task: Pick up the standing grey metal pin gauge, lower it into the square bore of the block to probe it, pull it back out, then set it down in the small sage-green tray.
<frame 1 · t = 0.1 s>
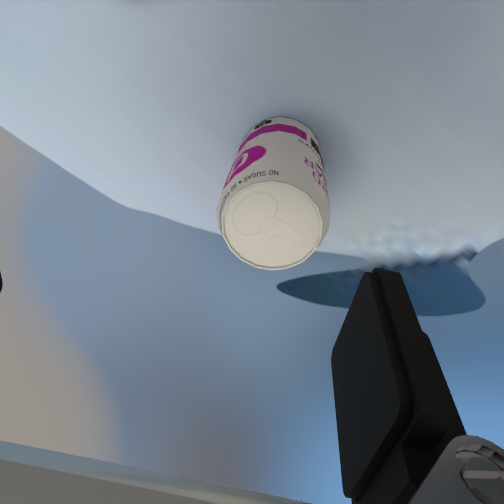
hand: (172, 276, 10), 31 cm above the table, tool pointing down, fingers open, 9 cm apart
supplement can: (280, 156, 40), on the table
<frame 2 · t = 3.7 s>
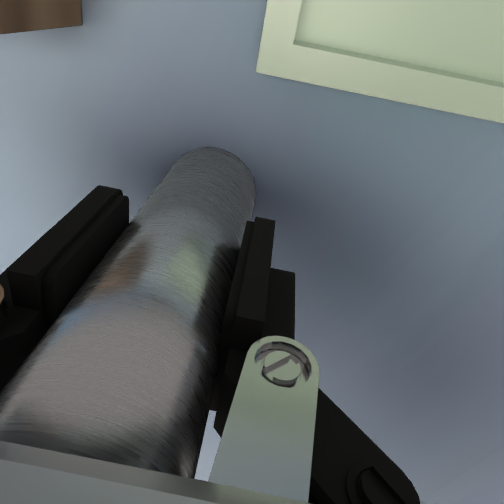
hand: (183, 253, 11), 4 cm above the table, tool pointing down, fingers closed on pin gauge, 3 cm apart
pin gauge: (211, 190, 14), on the table, touching gripper
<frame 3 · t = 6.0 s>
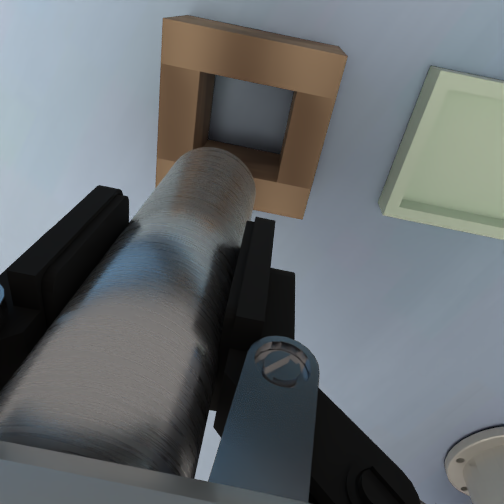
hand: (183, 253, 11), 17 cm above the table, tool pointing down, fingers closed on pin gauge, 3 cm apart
tray: (484, 157, 26), on the table
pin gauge: (211, 190, 14), point 13 cm above the table, touching gripper
bore block: (250, 109, 25), on the table
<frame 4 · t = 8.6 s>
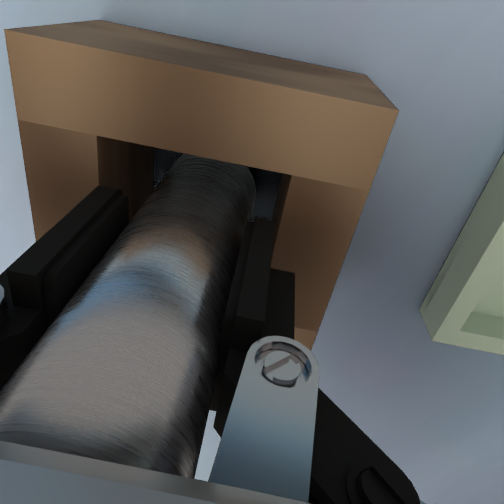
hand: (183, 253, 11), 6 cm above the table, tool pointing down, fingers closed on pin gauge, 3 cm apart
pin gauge: (211, 190, 14), point 1 cm above the table, touching gripper
bore block: (216, 174, 15), on the table
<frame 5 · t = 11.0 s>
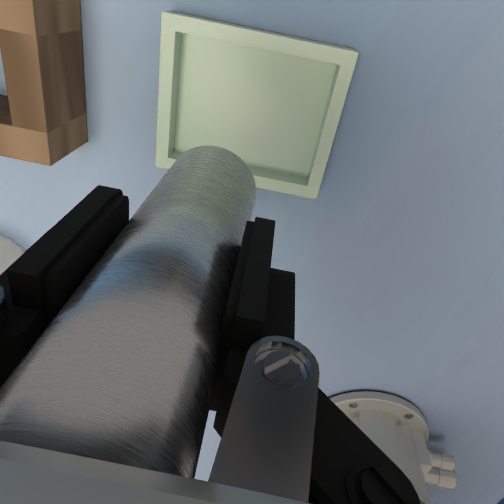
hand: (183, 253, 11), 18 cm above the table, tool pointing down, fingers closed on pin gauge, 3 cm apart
tray: (250, 107, 26), on the table
shot glass: (1, 259, 35), on the table
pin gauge: (211, 189, 14), point 14 cm above the table, touching gripper
bore block: (15, 59, 26), on the table
when the fingers open (6 cm above the table, at t = 13.4 s): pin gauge stays where it is, resting on tray.
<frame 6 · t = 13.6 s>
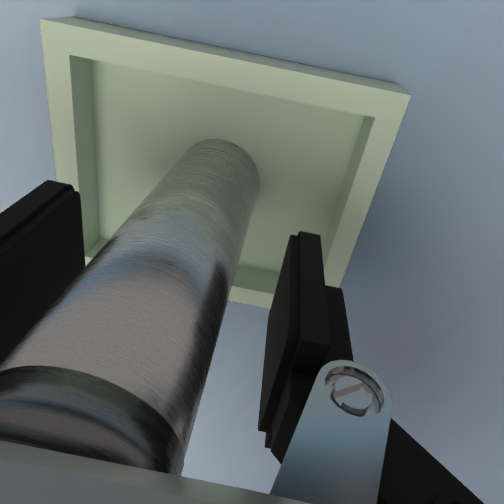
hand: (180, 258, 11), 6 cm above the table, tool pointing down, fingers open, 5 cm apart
tray: (218, 175, 16), on the table
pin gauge: (217, 180, 15), point 1 cm above the table, touching tray
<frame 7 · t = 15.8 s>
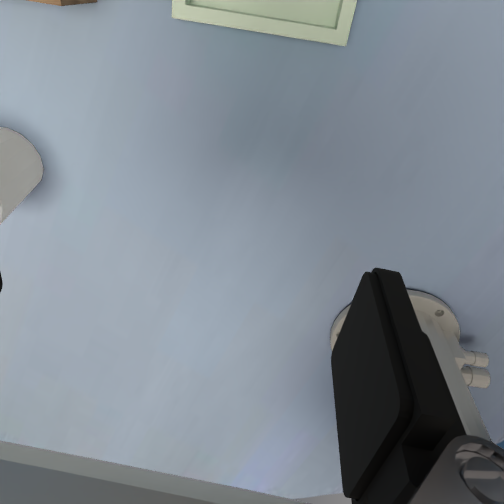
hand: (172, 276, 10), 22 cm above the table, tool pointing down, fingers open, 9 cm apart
shot glass: (11, 159, 33), on the table
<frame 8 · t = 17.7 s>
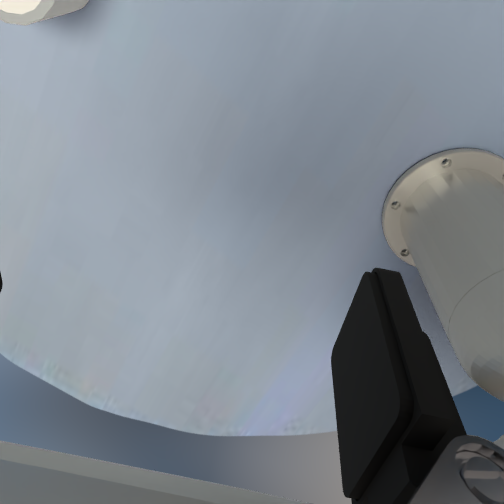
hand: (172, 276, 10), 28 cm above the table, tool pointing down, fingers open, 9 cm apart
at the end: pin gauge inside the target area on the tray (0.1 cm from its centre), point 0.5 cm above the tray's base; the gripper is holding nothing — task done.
